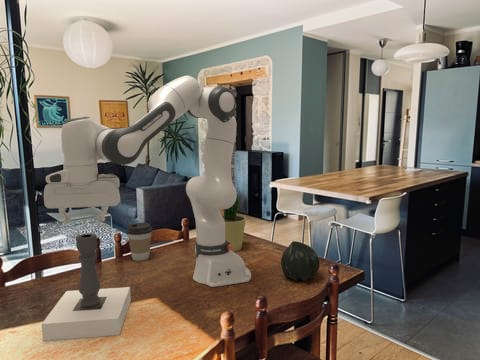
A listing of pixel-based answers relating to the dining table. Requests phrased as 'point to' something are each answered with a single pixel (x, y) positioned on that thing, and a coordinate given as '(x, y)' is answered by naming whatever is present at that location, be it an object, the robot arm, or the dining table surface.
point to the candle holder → (88, 272)
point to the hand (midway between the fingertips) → (84, 221)
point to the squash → (299, 261)
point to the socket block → (87, 316)
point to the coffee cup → (139, 240)
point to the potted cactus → (234, 226)
